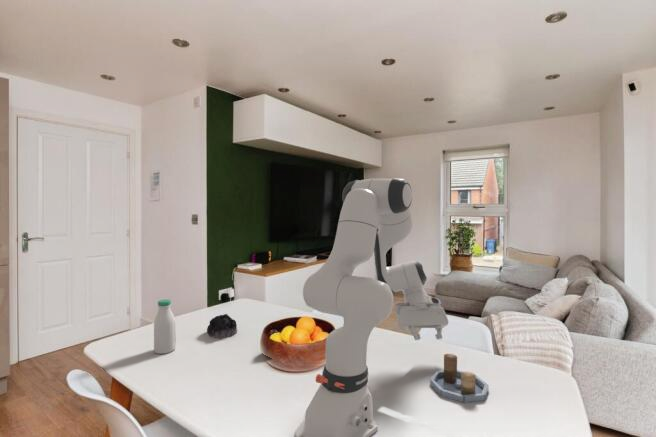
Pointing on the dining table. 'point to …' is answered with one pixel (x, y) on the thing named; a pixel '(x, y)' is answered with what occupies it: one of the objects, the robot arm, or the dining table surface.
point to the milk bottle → (164, 329)
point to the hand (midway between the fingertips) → (428, 339)
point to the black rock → (222, 326)
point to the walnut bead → (450, 368)
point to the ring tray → (458, 388)
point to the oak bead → (468, 383)
